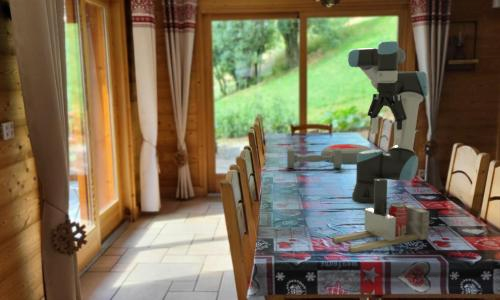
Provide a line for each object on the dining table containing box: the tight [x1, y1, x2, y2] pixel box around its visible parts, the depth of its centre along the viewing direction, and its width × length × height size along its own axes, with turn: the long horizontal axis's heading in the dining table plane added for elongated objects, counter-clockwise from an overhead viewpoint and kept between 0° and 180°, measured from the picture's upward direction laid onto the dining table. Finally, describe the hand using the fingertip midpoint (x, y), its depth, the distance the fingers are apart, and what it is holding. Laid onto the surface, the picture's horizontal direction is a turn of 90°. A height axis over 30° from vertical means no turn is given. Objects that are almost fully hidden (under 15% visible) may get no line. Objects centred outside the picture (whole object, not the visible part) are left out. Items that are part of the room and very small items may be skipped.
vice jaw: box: [364, 179, 396, 241], centre depth 163 cm, size 13×4×20 cm, turn 23°
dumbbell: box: [286, 147, 343, 170], centre depth 290 cm, size 13×33×13 cm, turn 85°
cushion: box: [320, 143, 374, 164], centre depth 321 cm, size 37×37×10 cm
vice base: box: [331, 201, 430, 253], centre depth 164 cm, size 14×32×10 cm, turn 113°
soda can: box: [388, 202, 407, 237], centre depth 167 cm, size 6×6×12 cm
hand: (385, 135), depth 183 cm, fingers open, 13 cm apart
